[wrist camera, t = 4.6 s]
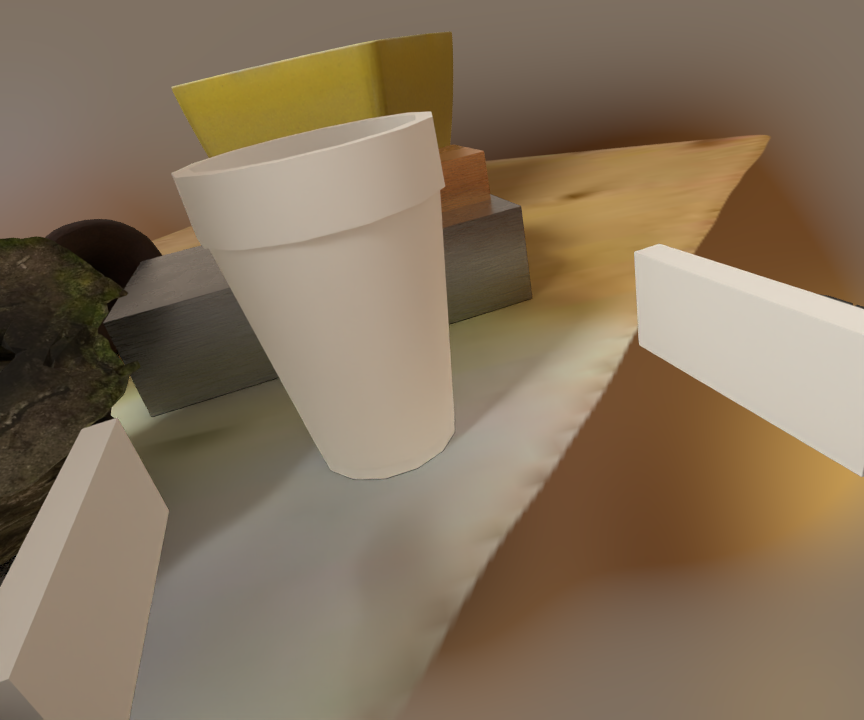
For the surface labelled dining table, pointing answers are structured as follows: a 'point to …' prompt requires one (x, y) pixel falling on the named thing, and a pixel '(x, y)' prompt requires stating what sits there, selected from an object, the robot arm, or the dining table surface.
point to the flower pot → (323, 92)
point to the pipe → (107, 251)
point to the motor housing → (231, 331)
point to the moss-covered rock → (49, 372)
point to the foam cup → (341, 280)
